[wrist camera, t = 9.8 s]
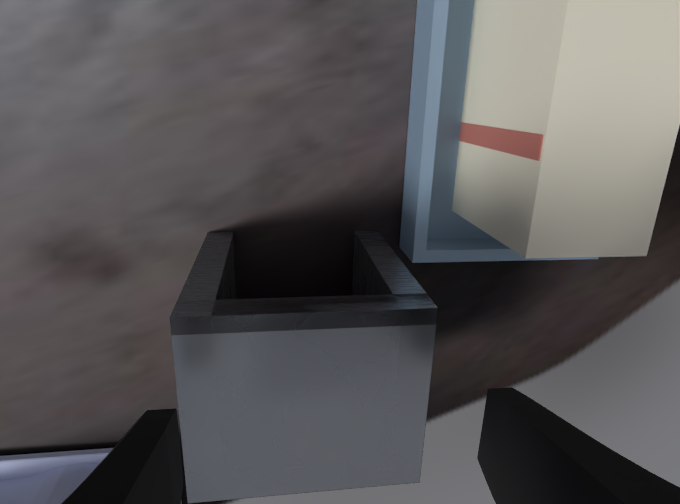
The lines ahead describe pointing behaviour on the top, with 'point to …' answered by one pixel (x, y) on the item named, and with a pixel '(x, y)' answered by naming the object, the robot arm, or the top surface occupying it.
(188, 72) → the top surface
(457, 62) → the tray
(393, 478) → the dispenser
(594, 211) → the block
